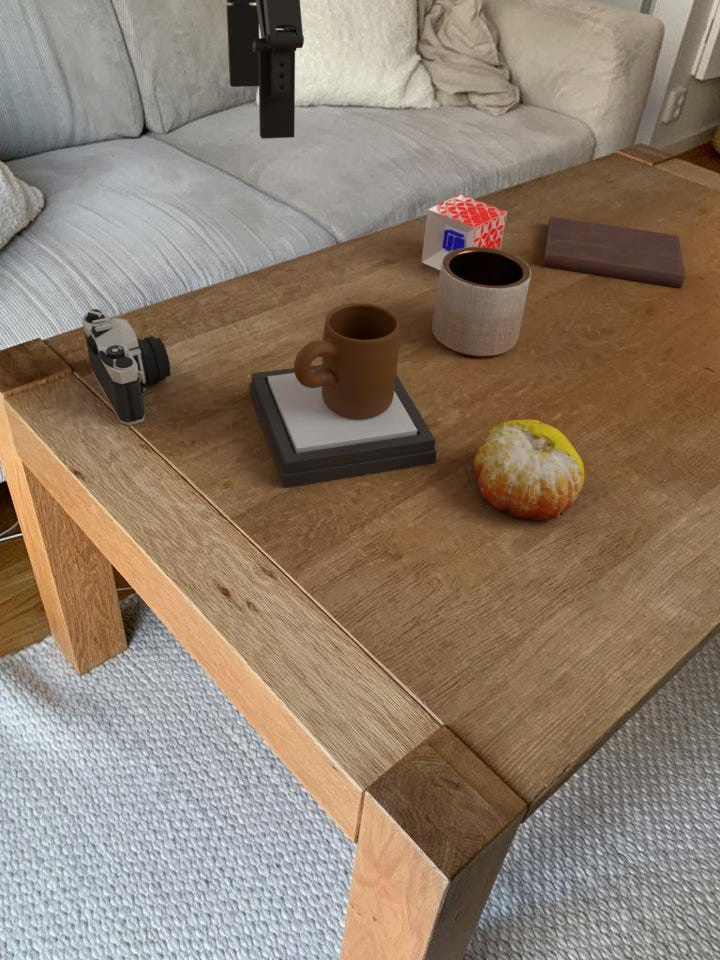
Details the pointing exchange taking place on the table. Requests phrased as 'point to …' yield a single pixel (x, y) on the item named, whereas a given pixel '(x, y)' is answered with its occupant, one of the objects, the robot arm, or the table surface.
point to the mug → (354, 360)
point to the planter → (480, 301)
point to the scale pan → (330, 418)
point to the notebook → (614, 251)
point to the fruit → (529, 470)
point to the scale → (342, 458)
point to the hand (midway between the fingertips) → (259, 109)
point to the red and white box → (461, 228)
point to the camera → (123, 363)
